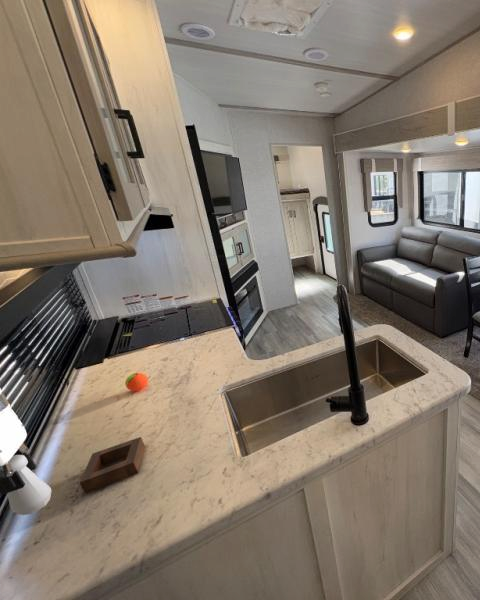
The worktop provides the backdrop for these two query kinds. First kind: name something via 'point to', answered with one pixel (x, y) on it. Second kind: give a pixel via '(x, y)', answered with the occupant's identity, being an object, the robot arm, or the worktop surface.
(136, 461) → the holder
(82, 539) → the worktop surface
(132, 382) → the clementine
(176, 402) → the worktop surface
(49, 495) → the salt shaker
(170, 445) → the worktop surface
